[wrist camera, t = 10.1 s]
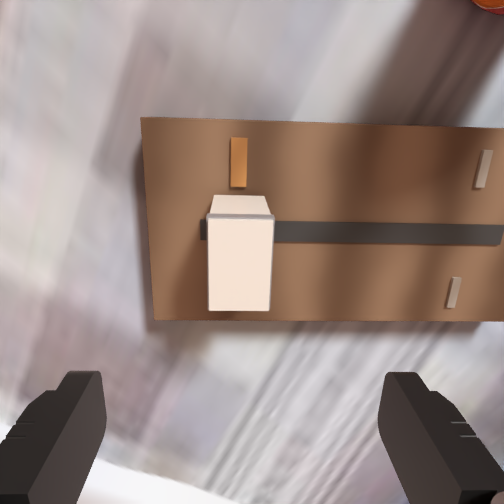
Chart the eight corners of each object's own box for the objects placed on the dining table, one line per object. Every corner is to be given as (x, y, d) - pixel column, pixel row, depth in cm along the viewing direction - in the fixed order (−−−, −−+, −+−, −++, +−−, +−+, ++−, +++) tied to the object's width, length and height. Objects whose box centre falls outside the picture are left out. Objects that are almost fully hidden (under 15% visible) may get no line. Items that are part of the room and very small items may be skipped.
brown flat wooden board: (545, 129, 27) (585, 131, 24) (495, 303, 32) (523, 323, 29) (150, 116, 26) (139, 117, 22) (161, 300, 30) (153, 322, 27)
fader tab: (265, 194, 24) (275, 219, 18) (262, 269, 26) (270, 312, 20) (212, 193, 24) (205, 218, 18) (212, 268, 26) (207, 312, 20)
